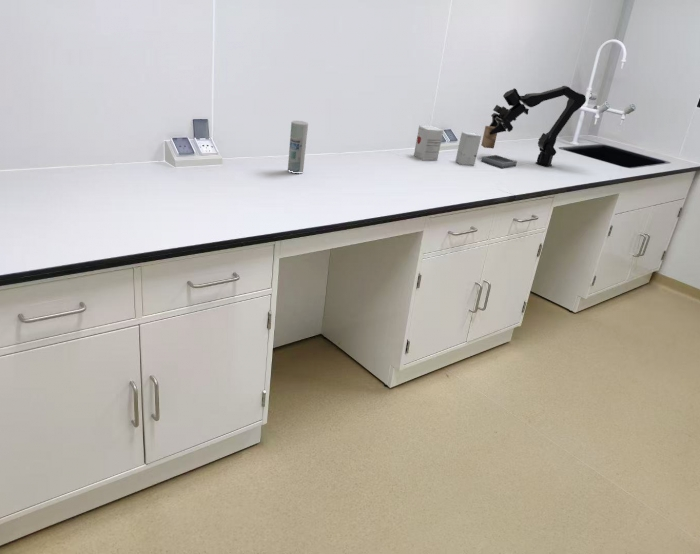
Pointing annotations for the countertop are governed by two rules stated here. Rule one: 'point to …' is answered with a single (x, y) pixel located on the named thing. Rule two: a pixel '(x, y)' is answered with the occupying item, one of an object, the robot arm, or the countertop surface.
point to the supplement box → (428, 142)
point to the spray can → (297, 146)
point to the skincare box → (468, 148)
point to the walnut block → (488, 138)
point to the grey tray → (498, 161)
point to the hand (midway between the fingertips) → (488, 132)
